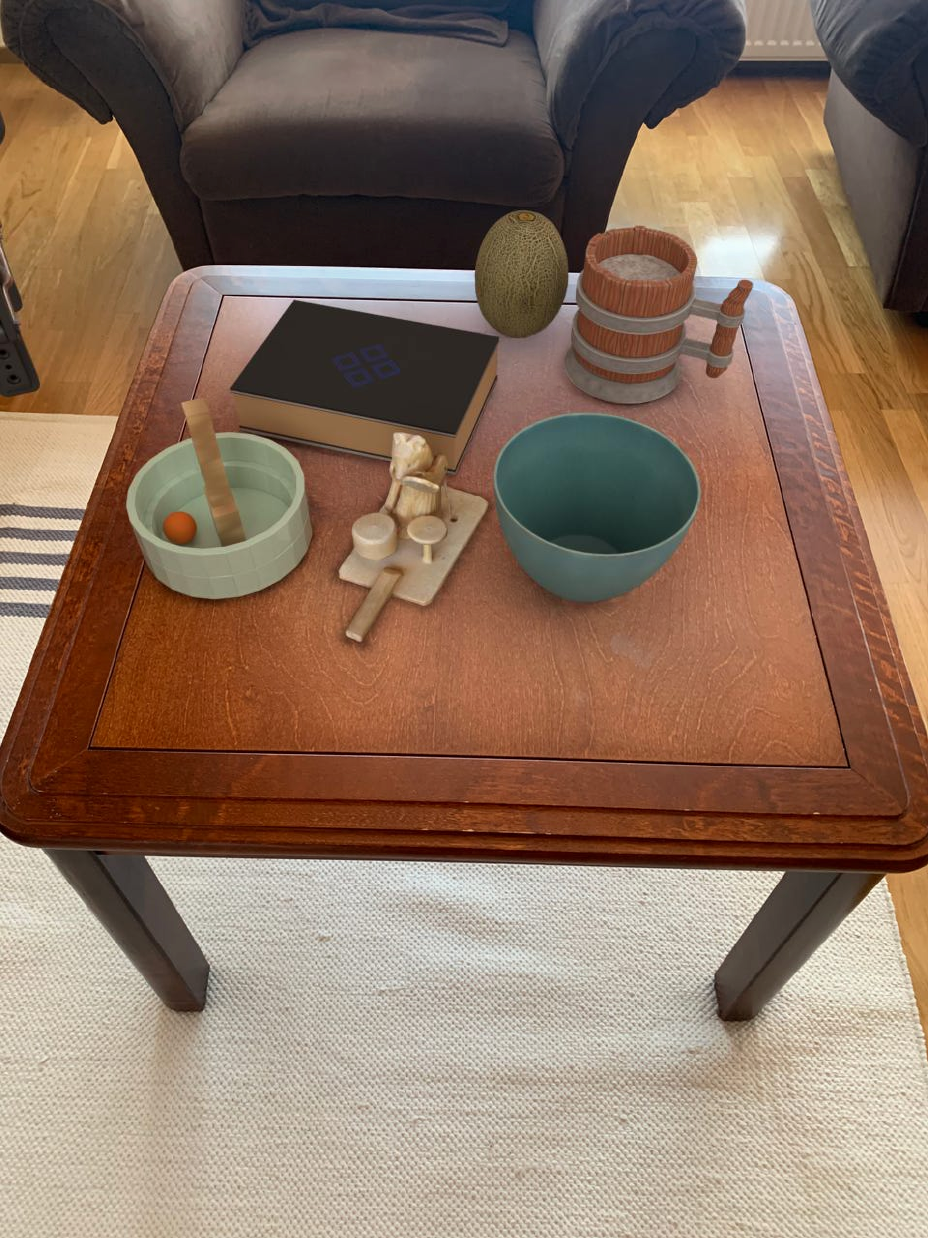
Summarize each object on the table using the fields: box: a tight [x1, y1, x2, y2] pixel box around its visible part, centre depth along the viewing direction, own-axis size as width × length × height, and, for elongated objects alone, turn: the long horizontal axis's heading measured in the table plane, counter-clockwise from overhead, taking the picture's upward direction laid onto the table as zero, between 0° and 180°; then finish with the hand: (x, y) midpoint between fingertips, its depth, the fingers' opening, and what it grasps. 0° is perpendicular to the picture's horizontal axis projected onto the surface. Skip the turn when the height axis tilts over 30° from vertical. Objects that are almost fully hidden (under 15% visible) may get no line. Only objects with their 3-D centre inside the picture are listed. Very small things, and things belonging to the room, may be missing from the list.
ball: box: [163, 511, 197, 544], centre depth 90 cm, size 3×3×3 cm
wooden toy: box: [338, 431, 489, 643], centre depth 86 cm, size 22×10×14 cm, turn 155°
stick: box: [180, 397, 246, 547], centre depth 86 cm, size 2×4×16 cm, turn 23°
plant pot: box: [492, 412, 702, 604], centre depth 86 cm, size 18×18×12 cm
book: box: [229, 299, 500, 477], centre depth 103 cm, size 17×25×7 cm
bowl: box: [125, 431, 313, 600], centre depth 90 cm, size 17×17×7 cm
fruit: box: [474, 209, 570, 339], centre depth 110 cm, size 11×11×15 cm
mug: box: [563, 224, 754, 406], centre depth 104 cm, size 14×19×15 cm
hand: (13, 349), depth 54 cm, fingers open, 8 cm apart
